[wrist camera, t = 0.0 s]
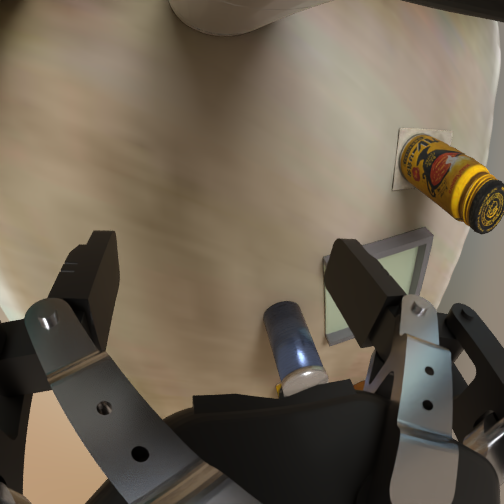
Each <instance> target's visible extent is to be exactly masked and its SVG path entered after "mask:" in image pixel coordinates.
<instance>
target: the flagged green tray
mask: <svg viewBox="0 0 504 504" xmlns="http://www.w3.org/2000/svg"><path fill="white" fill-rule="evenodd" d="M433 236H434V235H433V234H432V233H431V232H430V231H429V230H428V229H427V228H426V227H423V228H420V229H417V230H413V231H410V232H407V233H403V234H400V235H397V236H393V237H390V238H387V239H383V240H380V241H377V242H373V243H370V244H366V245H363V247H364V249H365V250H366V251H367V252H368V253H369V254H370V255H372V256H373V257H374V258H376V259H377V260H378V261H379V262H380V263H381V264H382V266H383V267H384V269H386V270H387V271H388V273H389V275H391V276H392V277H393V278H394V280H395V281H396V282H397V283H398V284H399V286H400V287H401V288H402V289H403V290H404V292H405V293H406V294H407V295H409V294H413V295H418V296H419V295H420V291H421V288H422V284H423V280H424V276H425V272H426V268H427V264H428V260H429V255H430V251H431V246H432V241H433ZM329 257H330V255H328V256H325V257H323V265H324V273H325V270H326V267H327V263H328V260H329ZM324 291H325V337H326V339H327V341H328V344H329V346H332V345H335V344H338V343H341V342H344V341H347V340H350V339H353V338H355V337H354V335H353V334H352V332H351V330H350V328H349V327H348V325H347V323H346V321H345V320H344V318H343V316H342V314H341V313H340V311H339V309H338V308H337V306H336V304H335V302H334V301H333V299H332V297H331V296H330V294H329V292H328V291H327V289H326V287H325V284H324Z"/></svg>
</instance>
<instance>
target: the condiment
mask: <svg viewBox="0 0 504 504" xmlns="http://www.w3.org/2000/svg"><path fill="white" fill-rule="evenodd" d="M452 135H453V131H446V130H432V129H416V128H400V131H399V139H398V148H397V155H396V164H395V174H394V184H393V190H392V191H394V190H402V189H412V188H417V189H419V190H420V191H421V192H423V193H424V194H425V195H426V196H428V197H429V198H430V199H431V200H433V201H434V202H435V203H436V204H438V205H439V206H440V207H441V208H442V209H444V210H445V211H446V212H447V213H449V214H450V215H451V216H452V217H453V218H455V219H456V220H458V221H461V222H464V223H465V224H466V225H468V226H470V227H471V228H472V229H473V230H474V231H475V232H477V233H480V234H485V233H488V232H490V231H492V230H493V229H494V228H495V226H497V224H498V223H499V222H500V220H501V218H502V216H503V215H504V184H503V183H502V181H499V180H497V179H496V178H495V177H494V176H493V175H491V174H490V173H489V171H488V170H487V169H486V167H485V166H483V165H482V164H480V163H479V162H477V161H476V160H475V159H473V158H471V157H469V156H467V155H465V154H464V153H462V152H460V151H459V150H457V149H456V148H453V147H451V140H452Z"/></svg>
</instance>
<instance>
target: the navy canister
mask: <svg viewBox="0 0 504 504" xmlns="http://www.w3.org/2000/svg"><path fill="white" fill-rule="evenodd" d="M263 319H264V323H265V326H266V330H267V333H268V337H269V341H270V344H271V348H272V351H273V355H274V358H275V362H276V365H277V369H278V372H279V376H280V379H281V386H282V390H283V393H284V394H285V395H286V396H290V395H293V394H295V393H298V392H300V391H303V390H305V389H308V388H310V387H312V386H315V385H318V384H325V383H327V382H328V375H327V373H326V370H325V368H323V365H322V362H321V360H320V357H319V355H318V352H317V350H316V347H315V345H314V342H313V340H312V337H311V334H310V332H309V329H308V327H307V324H306V322H305V319H304V317H303V314H302V312H301V310H300V307H299V306H298V305H297V304H296V303H294V302H291V301H284V302H279V303H276V304H274V305H272V306H271V307H269V308H268V309H267V310H266V312H265V313H264V317H263Z"/></svg>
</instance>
